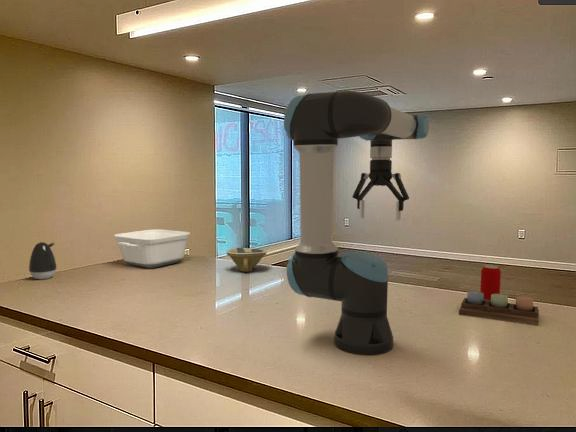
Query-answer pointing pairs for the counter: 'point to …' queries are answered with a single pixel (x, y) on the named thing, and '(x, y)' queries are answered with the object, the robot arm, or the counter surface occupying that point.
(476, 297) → the slate button
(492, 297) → the sage button
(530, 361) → the counter surface
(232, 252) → the bowl
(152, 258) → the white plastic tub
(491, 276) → the beverage can
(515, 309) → the panel
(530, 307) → the terracotta button
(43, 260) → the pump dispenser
